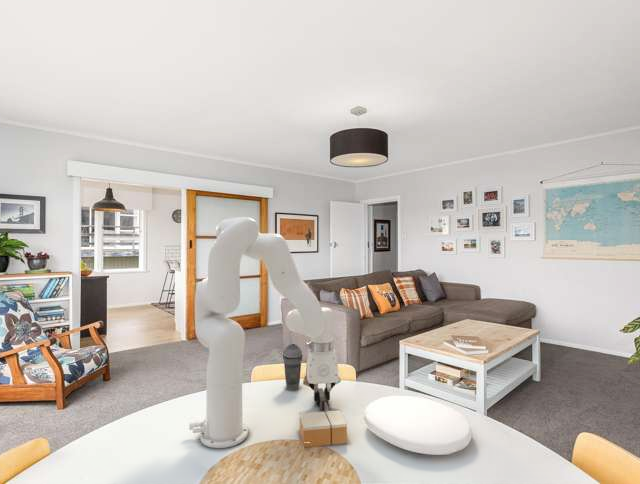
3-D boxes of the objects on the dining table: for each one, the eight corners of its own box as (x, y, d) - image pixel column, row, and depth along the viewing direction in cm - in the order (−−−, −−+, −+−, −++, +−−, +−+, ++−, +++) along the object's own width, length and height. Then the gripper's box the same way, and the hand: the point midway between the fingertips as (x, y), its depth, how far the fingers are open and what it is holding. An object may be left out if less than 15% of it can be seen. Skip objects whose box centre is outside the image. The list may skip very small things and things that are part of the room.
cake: (304, 447, 94) (303, 427, 94) (299, 431, 102) (299, 413, 102) (330, 444, 95) (330, 425, 96) (324, 429, 103) (324, 411, 103)
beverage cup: (295, 393, 128) (294, 335, 129) (278, 389, 132) (278, 332, 132) (306, 386, 134) (306, 331, 135) (290, 382, 138) (290, 329, 139)
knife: (327, 424, 106) (327, 414, 106) (315, 397, 125) (315, 388, 125) (334, 424, 106) (334, 413, 106) (322, 396, 125) (322, 388, 125)
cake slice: (331, 444, 95) (331, 425, 96) (325, 429, 103) (325, 411, 103) (346, 443, 96) (346, 423, 96) (339, 428, 104) (339, 410, 104)
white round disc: (476, 406, 107) (467, 453, 83) (473, 428, 107) (465, 482, 83) (382, 379, 120) (352, 414, 96) (380, 399, 120) (349, 438, 96)
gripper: (299, 350, 115) (299, 409, 115) (348, 348, 118) (348, 406, 118) (296, 344, 123) (296, 399, 122) (342, 341, 125) (343, 396, 125)
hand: (321, 402), depth 120 cm, fingers closed on knife, 2 cm apart
